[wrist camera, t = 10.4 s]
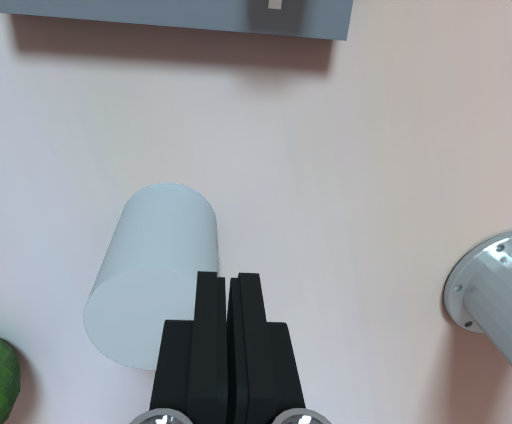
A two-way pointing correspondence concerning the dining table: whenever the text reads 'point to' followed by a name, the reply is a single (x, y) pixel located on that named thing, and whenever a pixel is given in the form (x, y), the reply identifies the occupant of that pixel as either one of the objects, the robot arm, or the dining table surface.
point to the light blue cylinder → (151, 272)
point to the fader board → (205, 14)
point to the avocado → (8, 380)
